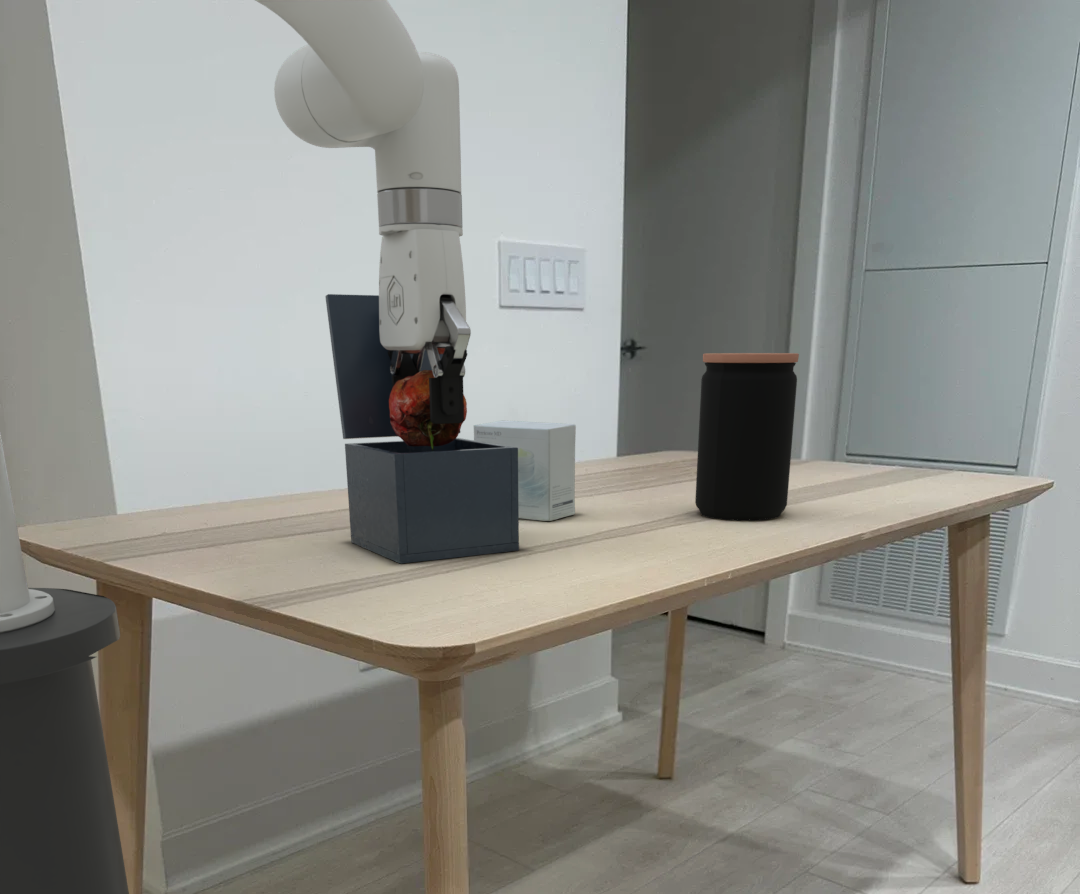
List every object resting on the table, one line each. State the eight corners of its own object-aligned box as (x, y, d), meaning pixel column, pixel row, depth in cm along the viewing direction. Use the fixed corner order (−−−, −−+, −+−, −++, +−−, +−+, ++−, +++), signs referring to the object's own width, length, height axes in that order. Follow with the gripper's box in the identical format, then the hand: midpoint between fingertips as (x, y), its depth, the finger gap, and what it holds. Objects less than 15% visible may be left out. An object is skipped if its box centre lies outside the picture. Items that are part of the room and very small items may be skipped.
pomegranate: (474, 473, 97) (469, 402, 102) (464, 413, 91) (459, 341, 96) (397, 481, 97) (396, 410, 102) (382, 422, 91) (381, 349, 96)
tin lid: (446, 296, 103) (443, 298, 103) (327, 294, 97) (325, 295, 98) (460, 433, 105) (457, 433, 106) (345, 438, 99) (342, 439, 100)
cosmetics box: (473, 514, 120) (471, 423, 117) (503, 508, 126) (502, 420, 122) (548, 522, 115) (548, 426, 112) (576, 514, 120) (577, 423, 117)
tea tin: (519, 550, 99) (518, 447, 96) (400, 563, 93) (394, 454, 90) (461, 531, 109) (459, 437, 106) (351, 542, 103) (344, 443, 100)
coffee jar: (803, 514, 120) (817, 353, 114) (751, 524, 113) (763, 353, 107) (729, 505, 127) (739, 353, 121) (676, 514, 120) (683, 353, 114)
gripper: (346, 224, 96) (358, 417, 102) (422, 203, 82) (430, 427, 88) (418, 229, 100) (426, 414, 106) (503, 209, 86) (506, 424, 92)
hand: (428, 419), depth 97 cm, fingers closed on pomegranate, 7 cm apart
